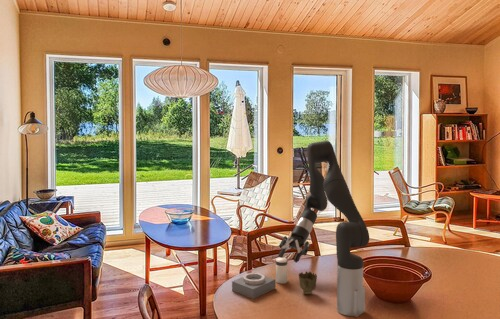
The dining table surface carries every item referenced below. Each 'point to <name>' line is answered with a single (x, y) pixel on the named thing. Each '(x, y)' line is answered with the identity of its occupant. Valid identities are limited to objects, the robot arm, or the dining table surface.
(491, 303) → the dining table surface
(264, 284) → the square base with ring
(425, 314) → the dining table surface
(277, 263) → the domed cylinder with band
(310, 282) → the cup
